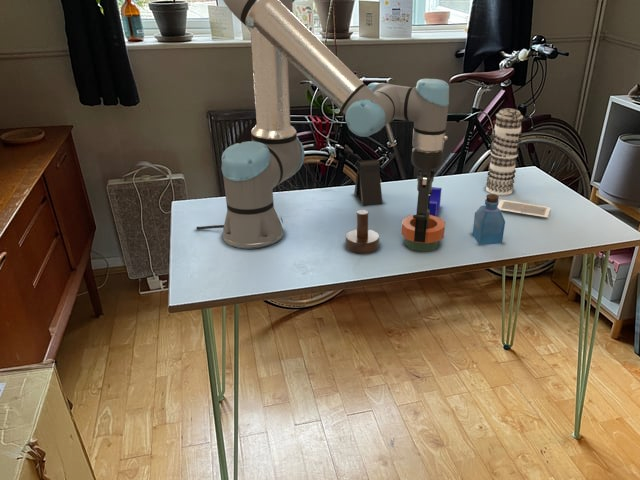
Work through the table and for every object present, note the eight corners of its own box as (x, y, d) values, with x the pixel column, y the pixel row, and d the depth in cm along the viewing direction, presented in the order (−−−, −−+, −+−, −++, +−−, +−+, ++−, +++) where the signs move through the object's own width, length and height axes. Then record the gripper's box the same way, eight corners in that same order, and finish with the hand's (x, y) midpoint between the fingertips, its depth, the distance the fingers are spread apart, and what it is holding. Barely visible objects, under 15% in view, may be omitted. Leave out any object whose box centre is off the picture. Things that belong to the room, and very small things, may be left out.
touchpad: (499, 202, 176) (500, 195, 175) (550, 210, 172) (551, 203, 171) (494, 212, 170) (495, 205, 168) (547, 220, 165) (548, 213, 164)
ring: (399, 241, 145) (400, 230, 144) (403, 223, 155) (404, 212, 153) (443, 244, 144) (444, 233, 143) (444, 226, 154) (445, 215, 152)
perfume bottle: (502, 243, 152) (508, 200, 146) (479, 244, 152) (484, 201, 145) (494, 233, 158) (500, 191, 152) (472, 234, 157) (477, 192, 151)
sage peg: (404, 250, 148) (406, 215, 143) (407, 235, 155) (408, 202, 150) (437, 252, 147) (440, 218, 142) (438, 238, 154) (441, 204, 149)
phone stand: (354, 194, 178) (354, 156, 172) (372, 192, 180) (373, 154, 174) (363, 205, 171) (363, 166, 165) (382, 203, 173) (383, 164, 167)
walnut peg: (343, 252, 146) (342, 217, 141) (349, 237, 153) (348, 204, 148) (376, 255, 145) (377, 220, 140) (380, 240, 152) (381, 206, 147)
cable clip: (424, 205, 172) (426, 186, 169) (439, 207, 172) (441, 188, 169) (418, 222, 162) (420, 202, 159) (434, 223, 162) (436, 203, 159)
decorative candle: (516, 187, 187) (529, 108, 174) (510, 197, 180) (522, 115, 167) (489, 182, 190) (499, 104, 177) (481, 192, 183) (491, 111, 170)
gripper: (442, 167, 127) (433, 253, 138) (445, 134, 148) (437, 211, 159) (407, 165, 128) (402, 250, 139) (416, 132, 149) (410, 208, 160)
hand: (421, 229), depth 149 cm, fingers open, 13 cm apart
